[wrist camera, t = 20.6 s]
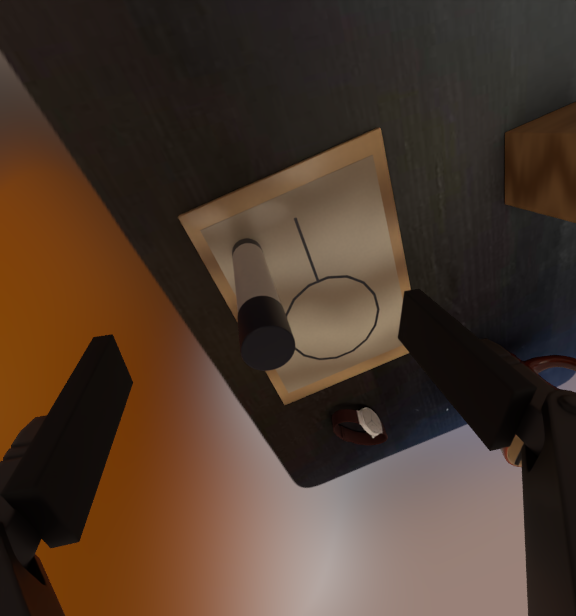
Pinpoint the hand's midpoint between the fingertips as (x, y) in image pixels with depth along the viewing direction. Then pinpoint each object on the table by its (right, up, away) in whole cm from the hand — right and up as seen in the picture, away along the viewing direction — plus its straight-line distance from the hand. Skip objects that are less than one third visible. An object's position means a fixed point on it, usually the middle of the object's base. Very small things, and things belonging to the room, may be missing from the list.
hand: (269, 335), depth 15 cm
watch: (+9, -12, +24) cm, 28 cm away
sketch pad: (+4, +3, +14) cm, 15 cm away
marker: (-2, +6, +11) cm, 12 cm away
